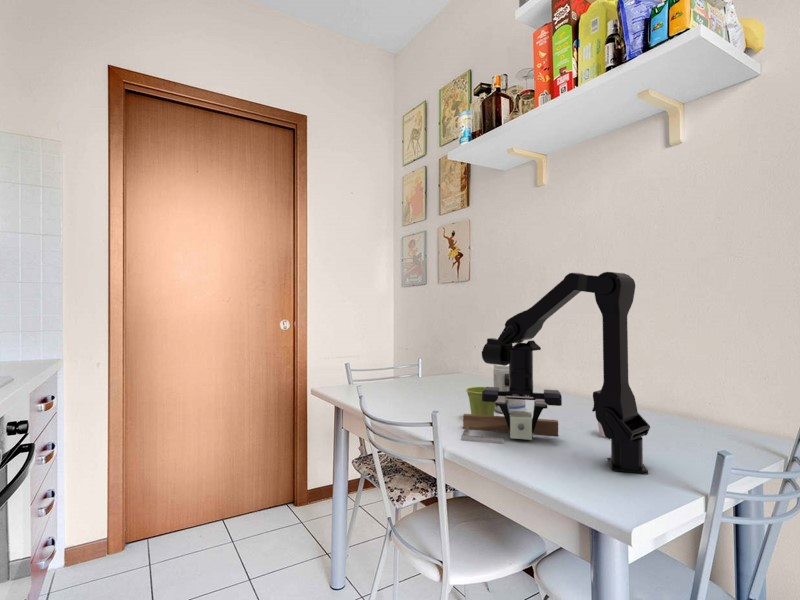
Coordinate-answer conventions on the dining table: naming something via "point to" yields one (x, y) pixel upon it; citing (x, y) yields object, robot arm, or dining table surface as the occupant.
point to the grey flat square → (479, 437)
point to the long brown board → (501, 425)
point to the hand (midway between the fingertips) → (521, 430)
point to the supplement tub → (506, 389)
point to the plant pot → (479, 402)
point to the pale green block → (521, 425)
